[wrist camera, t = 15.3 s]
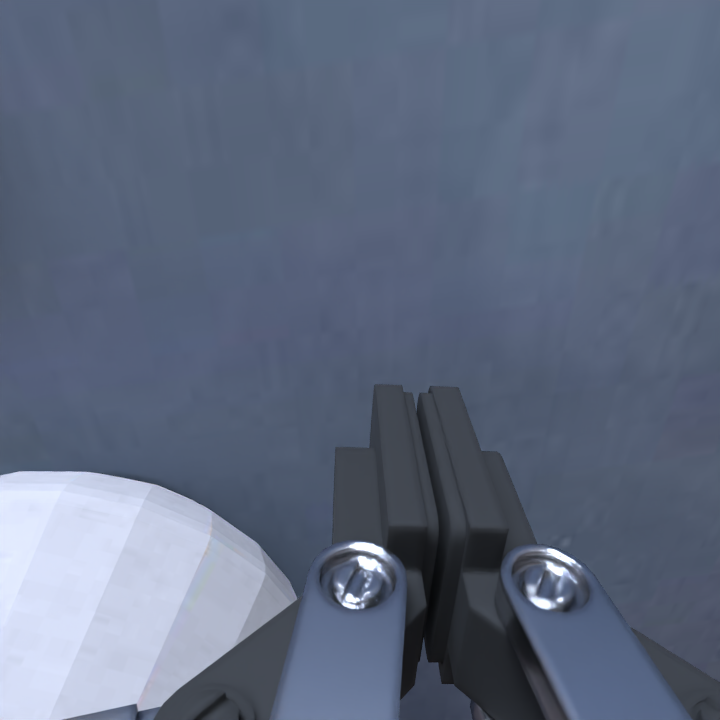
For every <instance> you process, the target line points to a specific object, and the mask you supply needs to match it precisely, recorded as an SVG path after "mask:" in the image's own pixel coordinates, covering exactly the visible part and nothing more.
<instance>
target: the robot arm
mask: <svg viewBox="0 0 720 720" xmlns="http://www.w3.org/2000/svg"><path fill="white" fill-rule="evenodd" d="M423 637H424V640H425V648H426V654H427V659H428V662H438V663H439V670H440V676H441V682H442V684H454V686H456V687H457V688H458V689H459V690H460V691H462V692H463V693H464V694H465V695H466V696H468V697H469V698H470V699H471V703H470V709H471V714H472V719H473V720H720V682H718V681H716V680H715V679H713V678H712V677H710V676H708V675H707V674H705V673H704V672H702V671H700V670H699V669H697V668H696V667H694V666H692V665H691V664H689V663H688V662H686V661H684V660H683V659H681V658H680V657H678V656H676V655H675V654H673V653H672V652H670V651H668V650H667V649H665V648H664V647H662V646H660V645H659V644H657V643H656V642H654V641H652V640H651V639H649V638H648V637H646V636H644V635H643V634H641V633H640V632H638V631H636V630H635V629H633V628H632V627H630V626H629V625H628V623H627V622H626V621H625V619H624V618H623V616H622V615H621V613H620V612H619V610H618V609H617V607H616V606H615V604H614V603H613V601H612V600H611V598H610V597H609V595H608V594H607V593H606V591H605V590H604V588H603V587H602V585H601V584H600V582H599V581H598V579H597V578H596V576H595V575H594V574H593V573H592V572H591V570H590V569H589V568H588V567H587V566H586V565H585V564H584V563H583V562H581V561H580V560H579V559H577V558H576V557H575V556H573V555H572V554H570V553H568V552H565V551H563V550H561V549H559V548H556V547H552V546H548V545H544V544H537V542H536V540H535V537H534V535H533V532H532V530H531V527H530V525H529V522H528V520H527V518H526V515H525V513H524V510H523V508H522V505H521V503H520V500H519V498H518V495H517V493H516V490H515V488H514V486H513V483H512V481H511V478H510V476H509V473H508V471H507V468H506V466H505V463H504V461H503V458H502V457H501V455H500V453H498V452H490V451H481V449H480V446H479V443H478V441H477V438H476V435H475V432H474V429H473V427H472V424H471V421H470V418H469V415H468V413H467V410H466V407H465V404H464V402H463V399H462V396H461V393H460V390H459V388H458V387H440V386H430V388H429V391H428V393H420V394H419V397H418V405H417V413H416V408H415V403H414V398H413V394H412V393H410V392H403V388H402V385H382V384H375V385H374V393H373V406H372V420H371V433H370V447H369V448H355V447H336V450H335V474H334V501H333V534H332V545H331V546H329V547H327V548H325V549H324V550H323V551H322V552H321V553H320V554H319V555H318V556H316V557H315V559H314V561H313V563H312V565H311V567H310V569H309V572H308V576H307V580H306V584H305V587H304V591H303V595H302V596H301V597H300V598H299V599H297V600H296V601H295V602H293V603H292V604H291V605H289V606H288V607H287V608H285V609H284V610H283V611H281V612H280V613H279V614H277V615H276V616H275V617H273V618H272V619H271V620H269V621H268V622H267V623H265V624H264V625H263V626H261V627H260V628H259V629H257V630H256V631H255V632H253V633H252V634H251V635H249V636H248V637H247V638H245V639H244V640H243V641H241V642H240V643H239V644H238V645H236V646H235V647H234V648H232V649H231V650H230V651H228V652H227V653H226V654H224V655H223V656H222V657H220V658H219V659H218V660H216V661H215V662H214V663H212V664H211V665H210V666H208V667H207V668H206V669H204V670H203V671H202V672H200V673H199V674H198V675H196V676H195V677H194V678H192V679H191V680H190V681H188V682H187V683H186V684H184V685H183V686H182V687H180V688H179V689H178V690H177V691H176V692H175V693H174V694H173V695H172V696H171V697H170V698H168V699H167V700H166V701H165V702H164V703H163V705H162V706H161V707H156V708H152V709H147V710H143V711H138V707H137V704H132V705H128V706H123V707H118V708H114V709H109V710H104V711H100V712H95V713H91V714H86V715H81V716H77V717H72V718H68V719H63V720H399V708H400V700H401V699H402V698H403V697H404V696H405V695H406V694H407V692H408V691H409V690H410V689H411V688H412V687H413V686H414V684H415V678H416V671H417V665H418V662H419V661H420V656H421V650H422V643H423Z"/></svg>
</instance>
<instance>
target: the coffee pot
mask: <svg viewBox="0 0 720 720" xmlns="http://www.w3.org/2000/svg"><path fill="white" fill-rule="evenodd" d="M296 600H297V597H296V594H295V592H294V590H293V588H292V586H291V583H290V581H289V580H288V579H287V577H286V576H285V575H284V574H283V573H282V572H281V570H280V569H279V568H278V567H277V566H276V564H275V563H274V562H273V561H272V560H271V559H270V557H269V556H268V555H267V554H266V553H265V551H264V550H263V549H262V548H261V547H260V546H259V544H258V543H256V542H255V541H254V540H252V539H251V538H249V537H248V536H246V535H245V534H244V533H242V532H241V531H239V530H238V529H237V528H235V527H234V526H232V525H231V524H229V523H228V522H227V521H225V520H224V519H222V518H221V517H220V516H218V515H217V514H215V513H214V512H213V511H211V510H210V509H208V508H206V507H205V506H203V505H201V504H198V503H197V502H195V501H194V500H191V499H189V498H187V497H184V496H182V495H180V494H177V493H175V492H173V491H170V490H168V489H166V488H163V487H161V486H159V485H155V484H150V483H146V482H141V481H136V480H131V479H126V478H122V477H117V476H110V475H105V474H100V473H92V472H40V471H20V472H15V473H10V474H6V475H1V476H0V720H63V719H68V718H72V717H77V716H81V715H86V714H91V713H95V712H100V711H104V710H109V709H114V708H118V707H123V706H128V705H132V704H137V707H138V711H143V710H147V709H152V708H156V707H161V706H162V705H163V703H164V702H165V701H166V700H167V699H168V698H170V697H171V696H172V695H173V694H174V693H175V692H176V691H177V690H178V689H179V688H180V687H182V686H183V685H184V684H186V683H187V682H188V681H190V680H191V679H192V678H194V677H195V676H196V675H198V674H199V673H200V672H202V671H203V670H204V669H206V668H207V667H208V666H210V665H211V664H212V663H214V662H215V661H216V660H218V659H219V658H220V657H222V656H223V655H224V654H226V653H227V652H228V651H230V650H231V649H232V648H234V647H235V646H236V645H238V644H239V643H240V642H241V641H243V640H244V639H245V638H247V637H248V636H249V635H251V634H252V633H253V632H255V631H256V630H257V629H259V628H260V627H261V626H263V625H264V624H265V623H267V622H268V621H269V620H271V619H272V618H273V617H275V616H276V615H277V614H279V613H280V612H281V611H283V610H284V609H285V608H287V607H288V606H289V605H291V604H292V603H293V602H295V601H296Z"/></svg>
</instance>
